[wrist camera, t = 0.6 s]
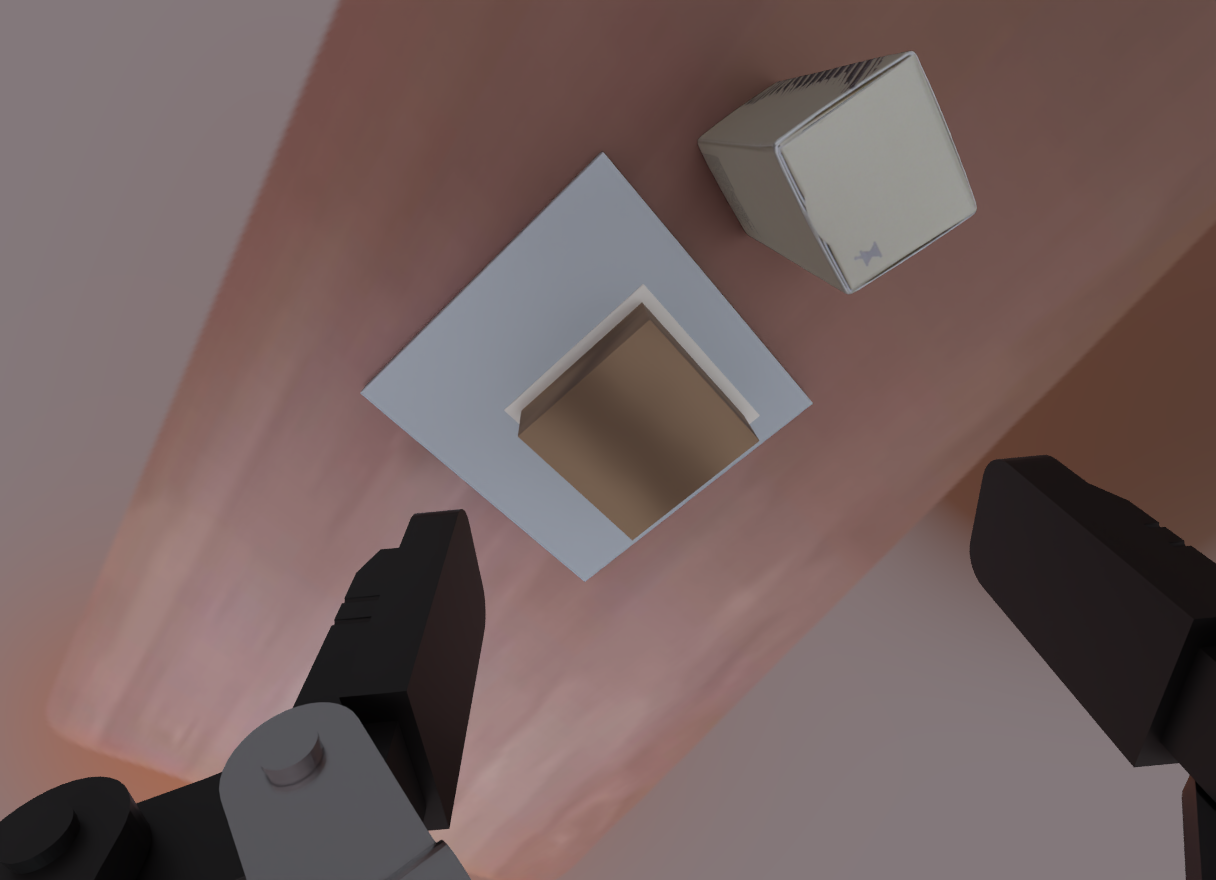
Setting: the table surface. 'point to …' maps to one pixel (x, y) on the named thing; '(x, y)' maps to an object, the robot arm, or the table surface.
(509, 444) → the board
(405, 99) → the table surface
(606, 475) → the base block
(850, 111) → the box
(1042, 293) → the table surface
